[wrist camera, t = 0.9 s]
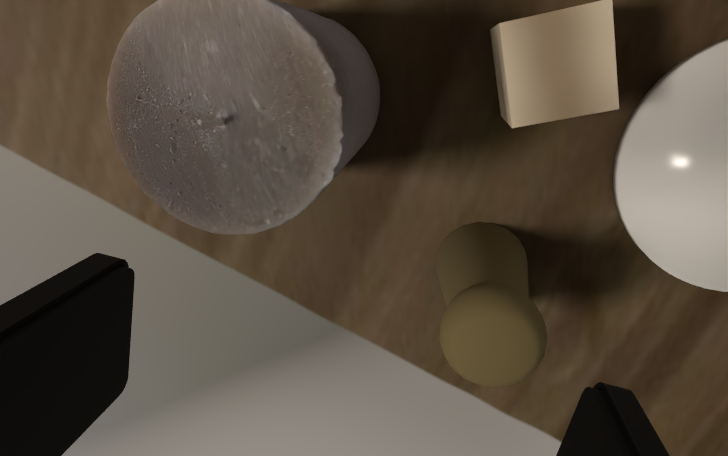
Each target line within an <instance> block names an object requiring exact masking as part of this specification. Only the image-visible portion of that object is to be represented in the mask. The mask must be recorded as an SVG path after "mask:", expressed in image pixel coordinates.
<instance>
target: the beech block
mask: <svg viewBox="0 0 728 456" xmlns="http://www.w3.org/2000/svg"><path fill="white" fill-rule="evenodd" d="M490 34H491V42H492V50H493V58H494V66H495V74H496V81H497V89H498V97H499V105H500V113H501V117H502V118H503V119H504V120H505V121H506V122H507V123H508V124H509V125H510V127H511V128H517V127H522V126H528V125H533V124H539V123H544V122H550V121H555V120H561V119H566V118H572V117H578V116H583V115H589V114H594V113H600V112H605V111H611V110H616V109H619V98H618V83H617V67H616V51H615V36H614V20H613V4H612V0H602V1H597V2H593V3H588V4H584V5H579V6H575V7H570V8H566V9H561V10H557V11H552V12H548V13H543V14H539V15H534V16H530V17H525V18H521V19H516V20H512V21H507V22H503V23H499V24H498V25H496V26H495V27H493V28H492V29H490Z"/></svg>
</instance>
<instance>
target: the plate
mask: <svg viewBox="0 0 728 456" xmlns="http://www.w3.org/2000/svg"><path fill="white" fill-rule="evenodd" d="M613 194H614V200H615V205H616V208H617V211H618V215H619V217H620V219H621V222H622V224H623V226H624V228H625V230H626V231H627V233H628V234H629V236H630V237H631V239H632V240H633V242H634V243H635V244H636V245H637V246H638V247H639V248H640V249H641V250H642V251H643V253H644V254H645V255H646V256H647V257H648V258H649V259H650V260H652V261H653V262H654V263H655V264H657V265H658V266H659V267H660V268H662V269H663V270H664V271H666V272H668V273H669V274H671V275H673V276H674V277H676V278H678V279H681V280H683V281H685V282H688V283H690V284H693V285H696V286H699V287H703V288H706V289H712V290H717V291H723V292H728V38H726V39H724V40H721V41H719V42H716V43H714V44H711V45H709V46H707V47H705V48H703V49H701V50H699V51H698V52H696V53H694V54H692V55H690V56H689V57H687V58H686V59H684V60H683V61H681V62H680V63H678V64H677V65H676V66H674V67H673V68H672V69H671V70H670V71H668V72H667V73H666V74H665V75H664V76H662V77H661V78H660V79H659V80H658V81H657V82H656V83H655V84H654V85H653V87H652V88H651V89H650V90H649V91H648V92H647V93H646V94H645V96H644V97H643V98H642V100H641V101H640V102H639V104H638V105H637V106H636V108H635V109H634V111H633V113H632V114H631V116H630V118H629V120H628V121H627V123H626V125H625V128H624V130H623V132H622V135H621V137H620V139H619V143H618V146H617V150H616V153H615V158H614V165H613Z"/></svg>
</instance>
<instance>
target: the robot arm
mask: <svg viewBox="0 0 728 456" xmlns="http://www.w3.org/2000/svg"><path fill="white" fill-rule="evenodd" d="M133 292H134V271H133V270H132V269H131V268H129V267H128V263H127V262H126V261H125V260H124V259H120V258H116V257H112V256H108V255H104V254H100V253H96V254H93V255H91V256H89V257H88V258H86V259H84V260H82V261H80V262H79V263H77V264H75V265H73V266H71V267H69V268H68V269H66V270H64V271H62V272H60V273H58V274H57V275H55V276H53V277H51V278H50V279H48V280H46V281H44V282H42V283H40V284H38V285H37V286H35V287H33V288H31V289H30V290H28V291H26V292H24V293H22V294H20V295H19V296H17V297H15V298H13V299H11V300H9V301H8V302H6V303H4V304H2V305H0V456H61V455H62V454H63V453H64V452H65V451H66V450H67V449H68V448H69V447H70V446H71V445H72V444H73V443H74V442H75V441H76V440H77V439H78V438H79V437H80V436H81V435H82V434H83V433H84V432H85V431H86V429H87V428H88V427H89V426H90V425H91V424H92V423H93V422H94V421H95V420H96V419H97V418H98V417H99V416H100V415H101V414H102V413H103V412H104V411H105V410H106V409H107V408H108V407H109V406H110V405H111V404H112V403H113V402H114V400H115V399H117V397H118V396H119V395H120V394H121V393H122V391H123V390H124V388H125V386H126V383H127V380H128V370H129V354H130V338H131V323H132V308H133ZM556 456H669V454H668V452H667V451H666V449H665V447H664V445H663V444H662V442H661V440H660V438H659V437H658V435H657V433H656V432H655V430H654V428H653V426H652V425H651V423H650V421H649V419H648V418H647V416H646V414H645V413H644V411H643V409H642V407H641V406H640V404H639V402H638V400H637V399H636V397H635V395H634V394H633V392H632V391H631V390H628V389H624V388H620V387H617V386H613V385H609V384H605V383H601V382H599V383H597V384H596V385H595V386H594V388H591V387H587V388H585V390H584V391H583V393H582V395H581V398H580V400H579V402H578V405H577V407H576V410H575V412H574V414H573V417H572V419H571V422H570V424H569V426H568V429H567V431H566V434H565V436H564V438H563V441H562V443H561V446H560V448H559V451H558V453H557V455H556Z"/></svg>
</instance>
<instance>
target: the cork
mask: <svg viewBox="0 0 728 456" xmlns="http://www.w3.org/2000/svg"><path fill="white" fill-rule="evenodd" d="M435 269H436V272H437V276H438V280H439V283H440V287H441V290H442V294H443V297H444V301H445V304H446V310H445V312H444V314H443V316H442V318H441V325H440V337H439V339H440V343H441V347H442V350H443V354H444V356H445V358H446V359H447V361H448V362H449V364H450V365H451V367H452V368H453V370H454V371H456V372H457V373H458V374H460V375H461V376H462V377H463V378H465V379H466V380H468V381H471V382H473V383H476V384H478V385H481V386H486V387H495V388H497V387H504V386H511V385H513V384H515V383H517V382H520V381H522V380H524V379H525V378H526V377H527V376H529V375H530V374H531V373H532V372H533V371H534V370H535V369H537V367H538V365H539V364H540V362H541V360H542V358H543V357H544V354H545V347H546V341H547V332H546V327H545V322H544V319H543V317H542V315H541V313H540V311H539V310H538V308H537V307H536V305H535V303H534V302H533V301H532V300H530V299H529V286H528V261H527V257H526V252H525V249H524V247H523V245H522V244H521V242H520V241H519V239H518V238H517V237H516V236H515V235H514V234H513V233H511V232H510V231H509V230H508V229H506V228H504V227H501V226H499V225H496V224H493V223H482V222H477V223H472V224H468V225H463V226H462V227H460V228H458V229H456V230H455V231H453V232H451V233H450V234H449V235H448V236H447V238H446V239H445V240H444V241H443V242H442V243H441V246H440V248H439V250H438V252H437V255H436V266H435Z"/></svg>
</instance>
